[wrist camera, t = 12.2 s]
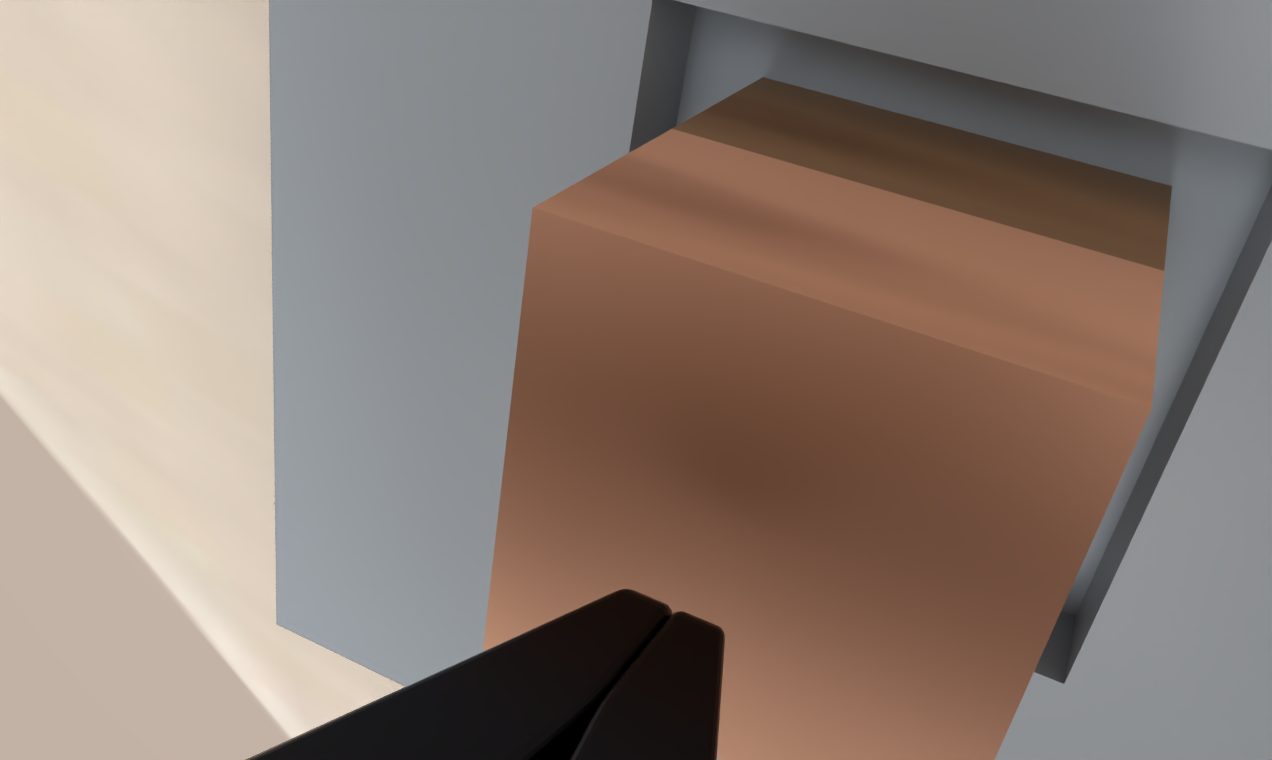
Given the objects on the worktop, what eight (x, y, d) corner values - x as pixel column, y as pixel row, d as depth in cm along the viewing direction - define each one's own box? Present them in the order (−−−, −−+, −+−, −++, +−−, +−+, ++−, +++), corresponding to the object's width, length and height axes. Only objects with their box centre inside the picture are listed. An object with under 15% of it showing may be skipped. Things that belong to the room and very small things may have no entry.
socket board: (1319, 983, 17) (1334, 1137, 15) (360, 552, 23) (276, 624, 21) (2386, -417, 9) (2757, -492, 6) (400, -591, 14) (261, -663, 12)
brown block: (1029, 532, 15) (946, 864, 10) (694, 408, 17) (483, 649, 12) (1172, 186, 13) (1151, 408, 8) (763, 76, 14) (532, 208, 9)
